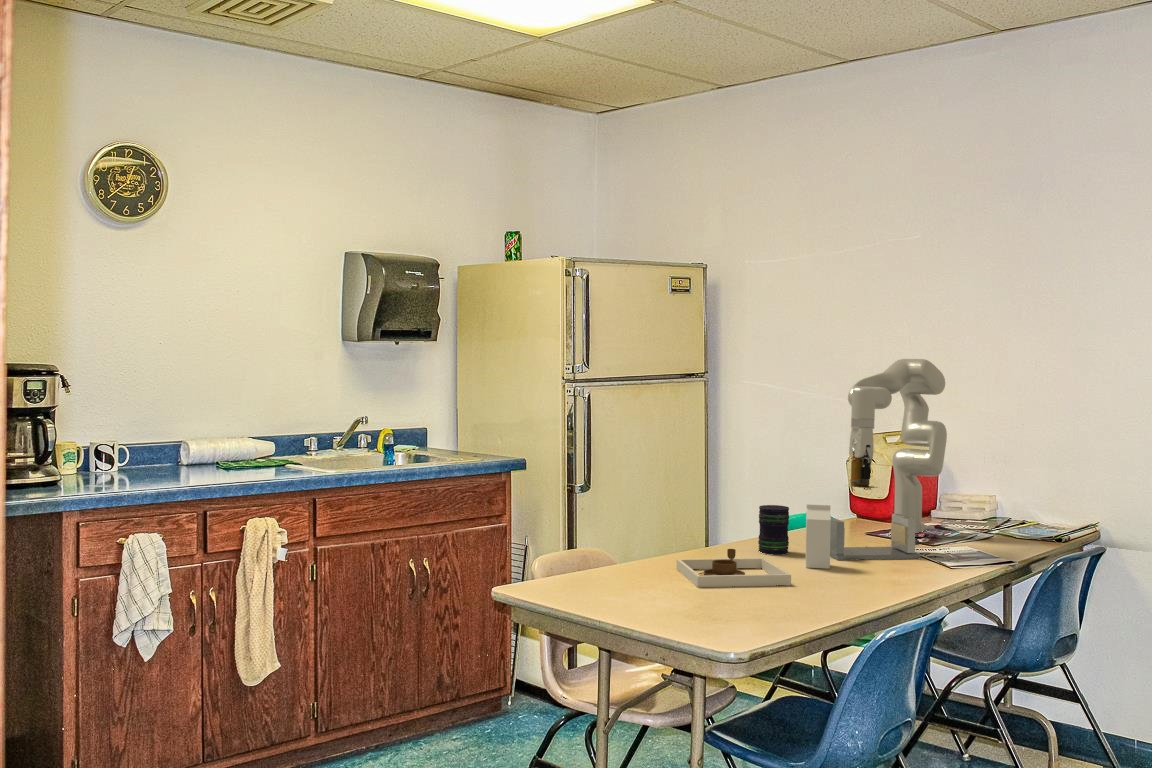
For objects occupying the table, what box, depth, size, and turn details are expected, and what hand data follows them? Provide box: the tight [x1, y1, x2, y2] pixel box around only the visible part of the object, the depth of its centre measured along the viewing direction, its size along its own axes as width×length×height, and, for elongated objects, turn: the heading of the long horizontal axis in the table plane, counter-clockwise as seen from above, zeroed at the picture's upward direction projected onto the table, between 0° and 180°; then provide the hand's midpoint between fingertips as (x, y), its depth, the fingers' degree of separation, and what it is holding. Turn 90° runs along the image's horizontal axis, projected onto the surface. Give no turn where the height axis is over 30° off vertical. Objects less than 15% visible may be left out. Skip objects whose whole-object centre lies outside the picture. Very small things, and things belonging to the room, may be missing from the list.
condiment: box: [844, 451, 878, 489], centre depth 353 cm, size 7×8×12 cm
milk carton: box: [805, 504, 832, 570], centre depth 325 cm, size 7×7×19 cm
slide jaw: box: [890, 513, 920, 553], centre depth 346 cm, size 7×12×11 cm, turn 8°
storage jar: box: [757, 504, 790, 556], centre depth 348 cm, size 10×10×15 cm
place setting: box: [698, 548, 746, 576], centre depth 308 cm, size 18×20×6 cm
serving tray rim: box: [676, 557, 792, 588], centre depth 308 cm, size 27×25×3 cm
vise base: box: [830, 516, 922, 561], centre depth 344 cm, size 28×14×12 cm, turn 98°
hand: (861, 477), depth 354 cm, fingers closed on condiment, 6 cm apart
